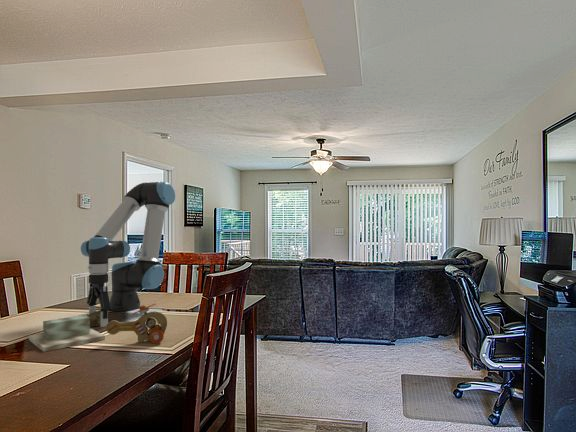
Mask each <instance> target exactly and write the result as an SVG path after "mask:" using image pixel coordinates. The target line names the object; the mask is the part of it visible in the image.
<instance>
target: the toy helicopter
mask: <svg viewBox="0 0 576 432" xmlns="http://www.w3.org/2000/svg"><path fill="white" fill-rule="evenodd" d="M156 305H157V303H153V304H151V305H147V306H146V305H140V308H139V310H137V311H134V312H132V313H131V314H130V316H133V315H135V314H139V315H140V316H139V317H138V319H136V320H133V321H124V322H120V321H118V320H116V319H114V320H110V321H108V324H107V326H106V327H105V330H106V332H107V334H109V335H111V336H112V335H116V334H118V333H119V332H133V333H135V335H137V341H138V342H139V343H143V342H144V341H150V342H151V343H152V344H156V343H157V344H160V343H161V342H162V341H163V340H164V336H165V333H166V329H167V327H168V319H167V316H166V315H165V314H164V313H162V312H159V311H150V308H151V307H153V306H156ZM148 311H150V312H148ZM157 344H156V345H157Z"/></svg>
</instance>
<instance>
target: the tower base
mask: <svg viewBox="0 0 576 432" xmlns="http://www.w3.org/2000/svg"><path fill="white" fill-rule="evenodd" d="M42 322H43V323H42V333H36V334H32V335H28V341H29V342H31V343H32V344H33V345H34V346H36V347H37V348H38V349H39V350H40V351H42V352H43V353H44V352H50V351H55V350H60V349H64V348H65V349H66V348H69V347H75V346H79V345H85V344H90V343H95V342H100V340H101V341H105V340H106V335H105V334H103V333H100V331H97V330H95V329H94V328H92V327H90V317H88V316H87V315H86V314H82V315H81V314H80V315H76V316H69V317H61V318H56V319H49V320H43V321H42ZM104 339H105V340H104Z"/></svg>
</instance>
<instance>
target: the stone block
mask: <svg viewBox="0 0 576 432" xmlns="http://www.w3.org/2000/svg"><path fill="white" fill-rule="evenodd" d="M86 316H88V317H90V328H94V327H101V312H100V310H96V312H93V313H91V314H89V313H88V315H86Z"/></svg>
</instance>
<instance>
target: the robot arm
mask: <svg viewBox="0 0 576 432" xmlns="http://www.w3.org/2000/svg"><path fill="white" fill-rule="evenodd" d="M175 200H176V193H175V189H174V187H173V186H172V184H171V183H169V182H167V181H153V182H151V181H150V182H141V183H138V184H137V185H135V186H134V187H133V188H131V189H129V191H128V192H126V193H125V195H124V196H123V197H122V199H121V203H120V204H119V205H118V207H117V208H116V209H115V210H114V212H113V213H112V214H111V215H110V217H109V218H108V219H107V220H106V221H105V223H104V224H103V225H102V226H101V228H100V229H99V230H98V231H97V232H96V234H94V236H92V237H90V239H88V240H85V241H83V242H82V244H81V245H80V252H81V254H82V255H83V256H84V257H88V266H87V269H88V273H89V275H88V283H89V290H88V294H87V301H86V304H87V305H88V315H89V314H91V313H93V312H96V311H97V300H98V303H99V305H100V310H99V311H100V312H101V325H100V328H106V326H107V324H108V323H109V311H112V312H126V311H133V310H137V309H140V307H141V300H140V298H139V297H140V296H139V295H138V292H137V291H138V289H145V290H155V289H157V288H158V287H160V285H161V284H162V283H163V281H164V277H165V271H164V267H163V266H162V265H161V264H162V262H161V261H160V259H159V257H160V248H161V243H162V235H163V230H164V229H163V228H164V223H165V222H164V221H165V216H166V215H165V214H166V212H167V211H169V207H170V205H172V204H173V203H174V202H175ZM141 207H145V208H146V210H147V212H146V215H145V216H146V217H145V222H144V224H145V225H144V230H143V235H142V243H141V251H140V256H139V257H138V258H136V260H135V261H133V260H132V261H124V262H119V263H118V262H117V263H114V264H112V266H111V296H110V297H109V291H108V289H109V288H108V285H106V286H105V283H106V284H107V283H108V282H109V274H108V273H109V260H110V259H119V258H125V257H128V256H129V254H130V252H131V245H130V243H129V242H128V241H125V240H114V239H115V238H116V237H117V235H118V234H119V232H120V231H121V230H122V228H123V227H124V226H125V225H126V223H127V222H128V221H129V219H130V218H131V217H132V215H133V214H134V213H135V212H137V211H138V212H139V210H140V209H141Z"/></svg>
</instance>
